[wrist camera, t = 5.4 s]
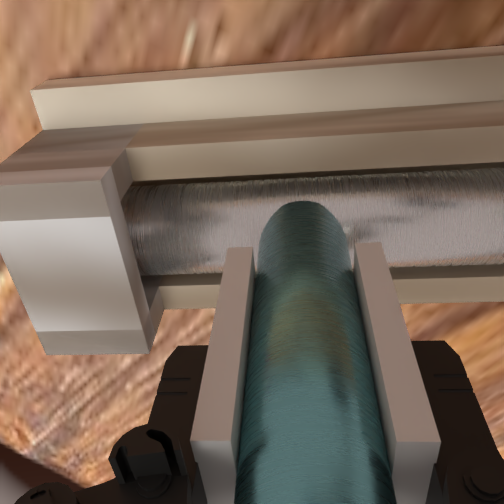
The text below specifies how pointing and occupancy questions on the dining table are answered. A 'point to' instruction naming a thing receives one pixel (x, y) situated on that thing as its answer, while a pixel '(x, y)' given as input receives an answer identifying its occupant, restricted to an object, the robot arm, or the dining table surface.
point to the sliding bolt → (315, 305)
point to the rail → (226, 172)
